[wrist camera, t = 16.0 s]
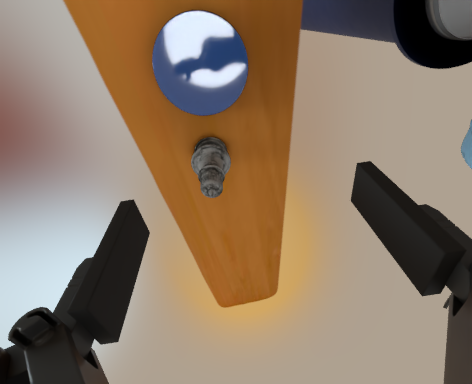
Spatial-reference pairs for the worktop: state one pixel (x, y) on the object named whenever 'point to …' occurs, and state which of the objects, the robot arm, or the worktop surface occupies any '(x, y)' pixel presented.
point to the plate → (200, 62)
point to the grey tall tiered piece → (211, 165)
